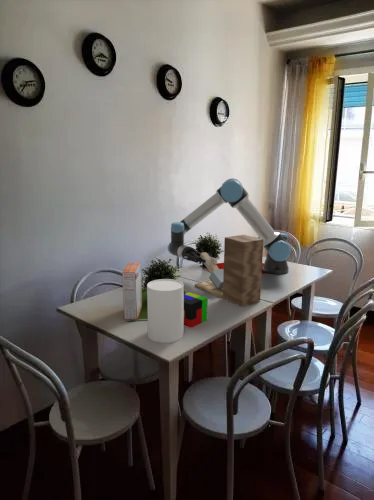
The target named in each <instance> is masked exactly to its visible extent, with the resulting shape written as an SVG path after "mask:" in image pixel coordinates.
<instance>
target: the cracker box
mask: <svg viewBox="0 0 374 500" xmlns="http://www.w3.org/2000/svg"><path fill="white" fill-rule="evenodd" d="M141 268H142V267H141V262H140V263H139V262H138V263H137V262H135V263H134V262H128V263H127V265H126V266H125V268H124V269H123V271H122V272H121V276H122V279H121V280H122V281H121V282H122V295H123V297H122V299H123V315H124V316H123V319H124V320H126V321H127V320H128V321H129V320H130V321H131V320H132V321H133V320H134V321H135V320H138V318H139V317H140V314H141V311H142V308H143V293H142V269H141Z"/></svg>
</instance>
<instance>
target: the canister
mask: <svg viewBox="0 0 374 500" xmlns="http://www.w3.org/2000/svg"><path fill="white" fill-rule="evenodd" d="M184 287H185V284H184V283H183V281H180V280H178V279H173V278H172V279H171V278H161V279H154V280H151V281H149V282H148V283H147V284H146V293H147V295H146V296H147V297H146V300H147V336H148V339H150V340H152V341H153V342H156V343H163V344H164V343H166V344H167V343H174V342H178V341H180V340H181V339H182V338H183V337H184V329H185V328H184V294H185V293H184V291H185V288H184Z"/></svg>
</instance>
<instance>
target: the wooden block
mask: <svg viewBox="0 0 374 500" xmlns="http://www.w3.org/2000/svg"><path fill="white" fill-rule="evenodd" d="M263 240H264V239H261V238H260V237H255V236H250V235H247V234H238V235H232V236H227V237H224V245H223V247H224V249H223V250H224V251H223V269H224V276H223V298H222V299H223V300H226V301H227V300H228V302H229V303H233V304H234V305H237V306H238V307H241V308H242V307H245V306H250V305H253V304H256V303H259V302H260V303H261V293H262V291H261V290H262V274H263V255H264V253H263V252H264V247H263Z"/></svg>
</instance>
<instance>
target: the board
mask: <svg viewBox="0 0 374 500" xmlns="http://www.w3.org/2000/svg"><path fill="white" fill-rule="evenodd" d="M194 287H196V288H198V289H199V290H200V289H201V290H202V291H205V292H207V293H209V294H211V295H213V296H216V297H217V298H220V299H223V288H221V289H217V288H216V286H215V285H214V284H213V282H212V281H211V280H208V281H207V280H206V281H203V282H198V283H195V284H194Z"/></svg>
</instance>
